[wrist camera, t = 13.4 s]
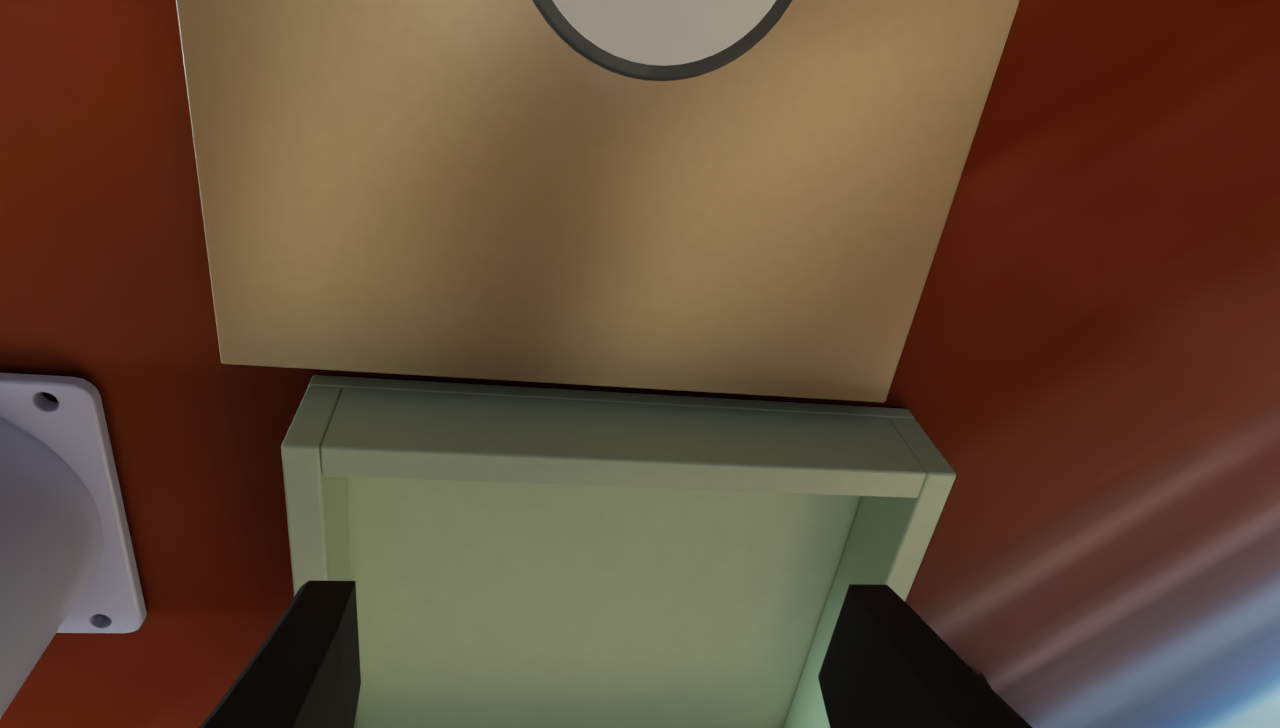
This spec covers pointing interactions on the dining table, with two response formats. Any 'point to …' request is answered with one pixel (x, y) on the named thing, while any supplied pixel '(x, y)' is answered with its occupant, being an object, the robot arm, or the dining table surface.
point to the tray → (599, 547)
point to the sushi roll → (661, 33)
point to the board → (579, 192)
